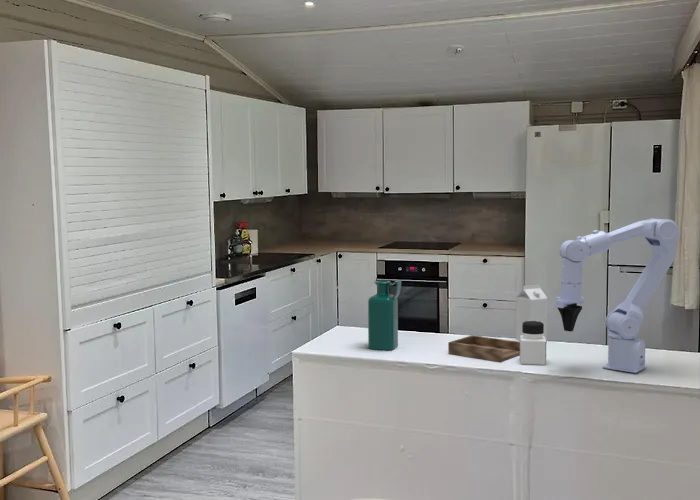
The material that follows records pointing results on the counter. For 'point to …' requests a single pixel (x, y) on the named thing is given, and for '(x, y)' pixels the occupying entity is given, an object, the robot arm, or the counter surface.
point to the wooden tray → (484, 348)
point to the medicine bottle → (533, 343)
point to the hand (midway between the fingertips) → (568, 330)
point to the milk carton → (531, 308)
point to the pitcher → (383, 317)
